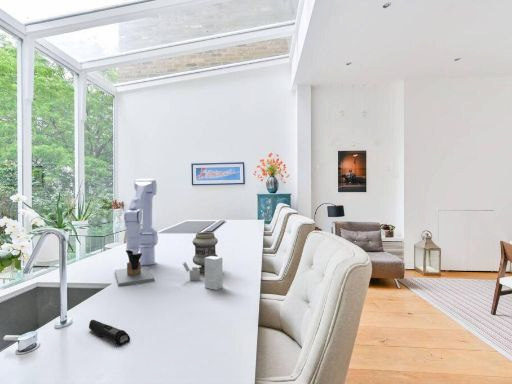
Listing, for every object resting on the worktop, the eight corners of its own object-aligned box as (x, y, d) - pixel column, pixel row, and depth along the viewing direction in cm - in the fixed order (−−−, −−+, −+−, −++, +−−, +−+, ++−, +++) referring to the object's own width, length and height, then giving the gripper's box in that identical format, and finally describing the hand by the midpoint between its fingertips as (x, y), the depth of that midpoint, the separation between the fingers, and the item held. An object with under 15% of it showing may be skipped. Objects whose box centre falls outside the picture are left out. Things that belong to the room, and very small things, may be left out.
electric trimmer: (98, 327, 86) (98, 316, 86) (131, 341, 78) (131, 329, 78) (85, 332, 83) (85, 321, 83) (118, 348, 74) (117, 335, 74)
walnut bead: (126, 273, 134) (126, 262, 134) (139, 271, 136) (139, 260, 136) (128, 276, 129) (127, 264, 129) (141, 274, 132) (141, 263, 132)
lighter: (199, 278, 130) (199, 260, 130) (199, 279, 128) (199, 261, 128) (182, 280, 128) (182, 261, 128) (182, 281, 126) (182, 262, 126)
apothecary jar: (187, 272, 139) (187, 233, 139) (203, 266, 150) (203, 230, 149) (208, 275, 133) (208, 235, 133) (223, 269, 144) (223, 232, 144)
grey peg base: (114, 272, 139) (114, 259, 139) (146, 268, 146) (146, 256, 146) (118, 286, 120) (118, 271, 120) (154, 280, 127) (154, 267, 126)
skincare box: (223, 287, 118) (222, 257, 118) (216, 290, 115) (216, 259, 114) (211, 284, 122) (210, 255, 121) (204, 287, 118) (204, 257, 118)
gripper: (145, 238, 128) (145, 270, 128) (140, 233, 141) (141, 262, 141) (127, 240, 125) (128, 272, 125) (124, 235, 137) (124, 264, 138)
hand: (133, 267), depth 133 cm, fingers open, 7 cm apart
